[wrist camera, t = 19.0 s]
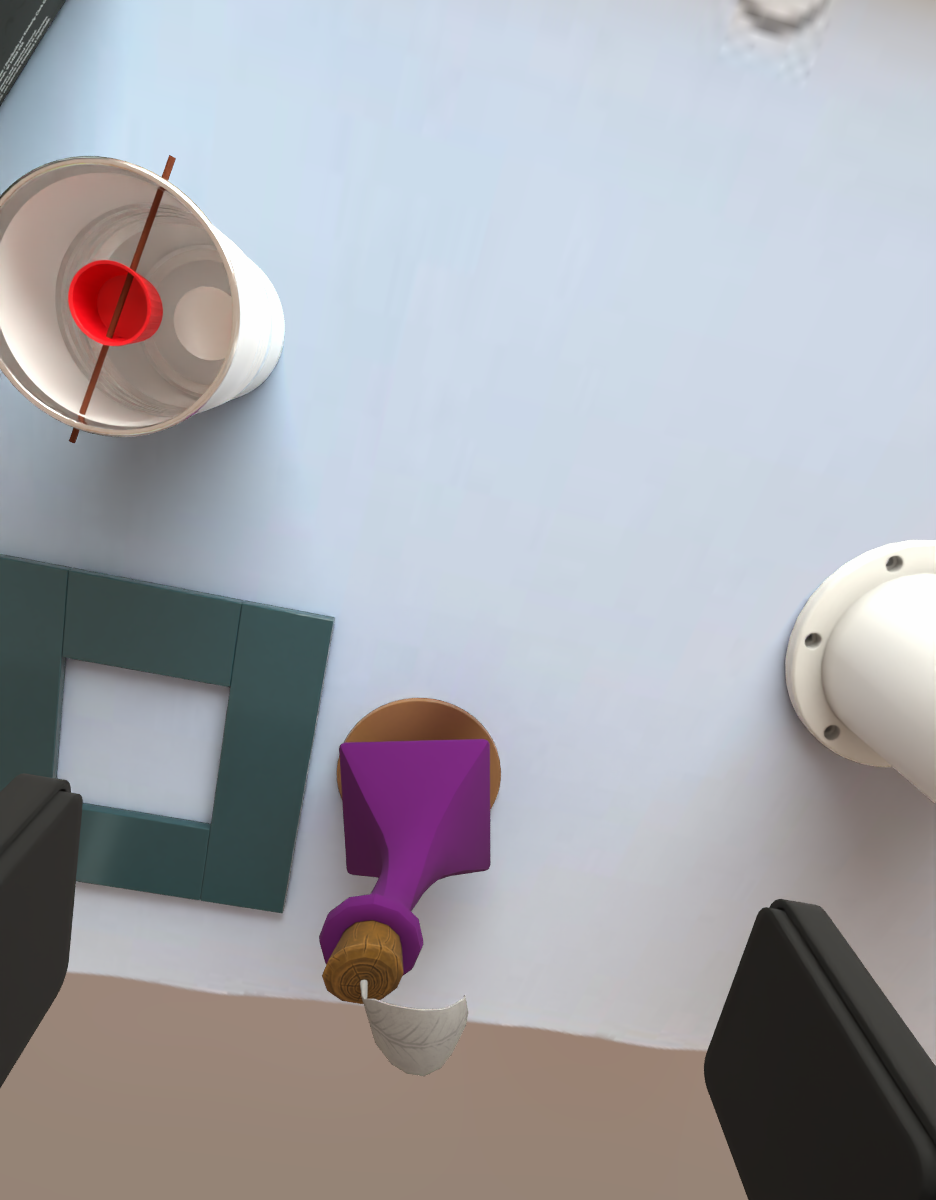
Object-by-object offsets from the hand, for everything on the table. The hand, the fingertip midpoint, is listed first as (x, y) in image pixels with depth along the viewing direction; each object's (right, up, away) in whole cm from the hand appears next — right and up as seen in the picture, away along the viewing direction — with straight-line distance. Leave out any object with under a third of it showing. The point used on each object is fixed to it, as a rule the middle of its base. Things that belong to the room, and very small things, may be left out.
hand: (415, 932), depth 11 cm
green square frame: (-17, -3, +32) cm, 36 cm away
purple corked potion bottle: (-2, -5, +33) cm, 33 cm away
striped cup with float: (-11, +17, +26) cm, 34 cm away
